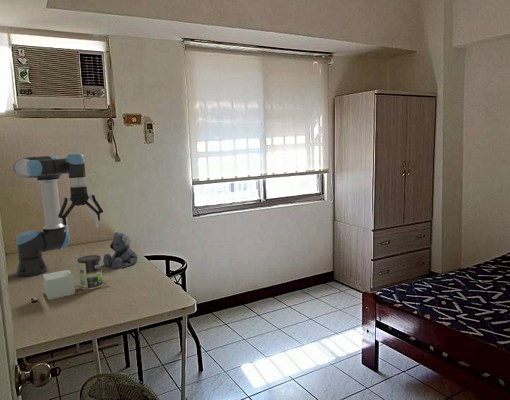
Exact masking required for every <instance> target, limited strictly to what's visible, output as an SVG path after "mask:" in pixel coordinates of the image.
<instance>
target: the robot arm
mask: <svg viewBox="0 0 510 400" xmlns="http://www.w3.org/2000/svg"><path fill="white" fill-rule="evenodd" d="M12 166H13V172H14V174H16V175H17V176H18V177H21V178H26V179H34V178H35V179H36V182H38V183H39V184H40V190H41V197H42V198H41V200H42V209H43V217H44V225H43V227H42V231H40V230H39V229H32V230H31V229H30V230H28V231H23V232H22V233H19V234H18V235H17V236H16V237H15V238H16V246H17V247H16V248H17V256H18V263H17V268H16V275H17V277H22V278H23V277H33V276H37V275H41V274H45V272H47V271H48V266H47V264H46V262H45V260H44V257H43V253H45V252H50V251H51V252H52V251H55V250H56V251H57V250H61V249H65V248H68V246H69V244H70V239H71V238H70V229H69V220H68V219H69V218H68V216H69V214H71V211H72V210H73V209H74V208H75V206H76V207H79V206H85V205H86V207H88V208H90V209H91V211H93V212H94V213H95V214H94V221H95V228H96V229H97V228H99V225H100V224H99V221H101V214H102V213H103V212H104V210H103V208H102V206H100V204H99V202H98V200H97V199H96V196H95V194H91V195H89V194H88V187H87V186H86V185H88V183H87V177H86V175H87V174H86V164H85V157H84V154H83V153H72V154H70V153H69V154H66V157H64V158H59V157H58V156H56V155H46V156H45V155H44V156H43V155H42V156H41V155H40V156H27V157H22V158H19V159H18V160H16V161H15V162H14V164H13V165H12ZM67 174H68V181H69V182H68V184H69V187H70V188H69V192H70V193H69V194H70V197H63V203H62V206H61V205H60V196H59V187H58V182H59V181H60V179H61V178H60V177H61V176H63V175H67ZM89 199H90V200H92V202H93V204H94V206H96V208H97V209H96V208H95V207H94V206H93V205H92V204H91V203H90V202H89ZM69 202H71V204H70V205H69V206H68V208H67V209H66V207H67V205H68V203H69ZM65 209H66V211H65ZM64 211H65V212H64Z"/></svg>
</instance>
